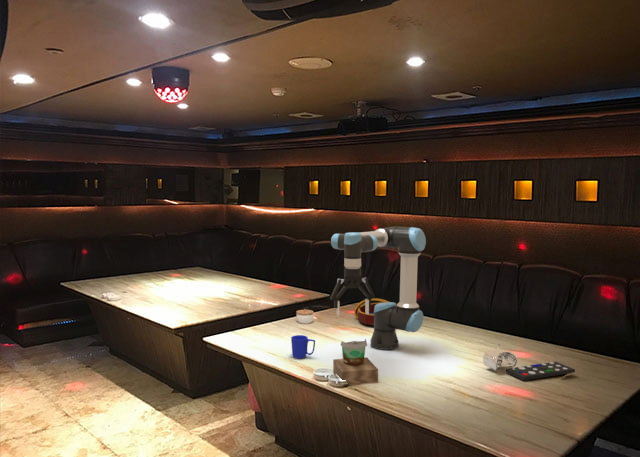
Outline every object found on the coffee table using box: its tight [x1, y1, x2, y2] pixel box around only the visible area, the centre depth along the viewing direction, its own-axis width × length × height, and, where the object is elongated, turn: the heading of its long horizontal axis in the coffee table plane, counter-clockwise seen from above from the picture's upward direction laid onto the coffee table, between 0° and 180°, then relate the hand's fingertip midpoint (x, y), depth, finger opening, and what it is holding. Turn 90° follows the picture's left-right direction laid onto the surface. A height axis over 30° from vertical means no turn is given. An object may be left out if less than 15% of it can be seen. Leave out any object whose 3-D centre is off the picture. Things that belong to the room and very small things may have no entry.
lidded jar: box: [296, 308, 314, 325], centre depth 312 cm, size 11×11×9 cm
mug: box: [290, 334, 316, 359], centre depth 248 cm, size 8×12×10 cm
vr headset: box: [482, 343, 518, 372], centre depth 234 cm, size 14×9×11 cm, turn 117°
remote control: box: [505, 361, 576, 381], centre depth 231 cm, size 11×30×2 cm, turn 111°
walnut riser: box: [332, 356, 379, 386], centre depth 221 cm, size 16×16×6 cm
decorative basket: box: [353, 297, 397, 326], centre depth 318 cm, size 34×29×15 cm
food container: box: [340, 338, 368, 366], centre depth 221 cm, size 12×6×10 cm, turn 106°
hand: (352, 314), depth 223 cm, fingers open, 13 cm apart
